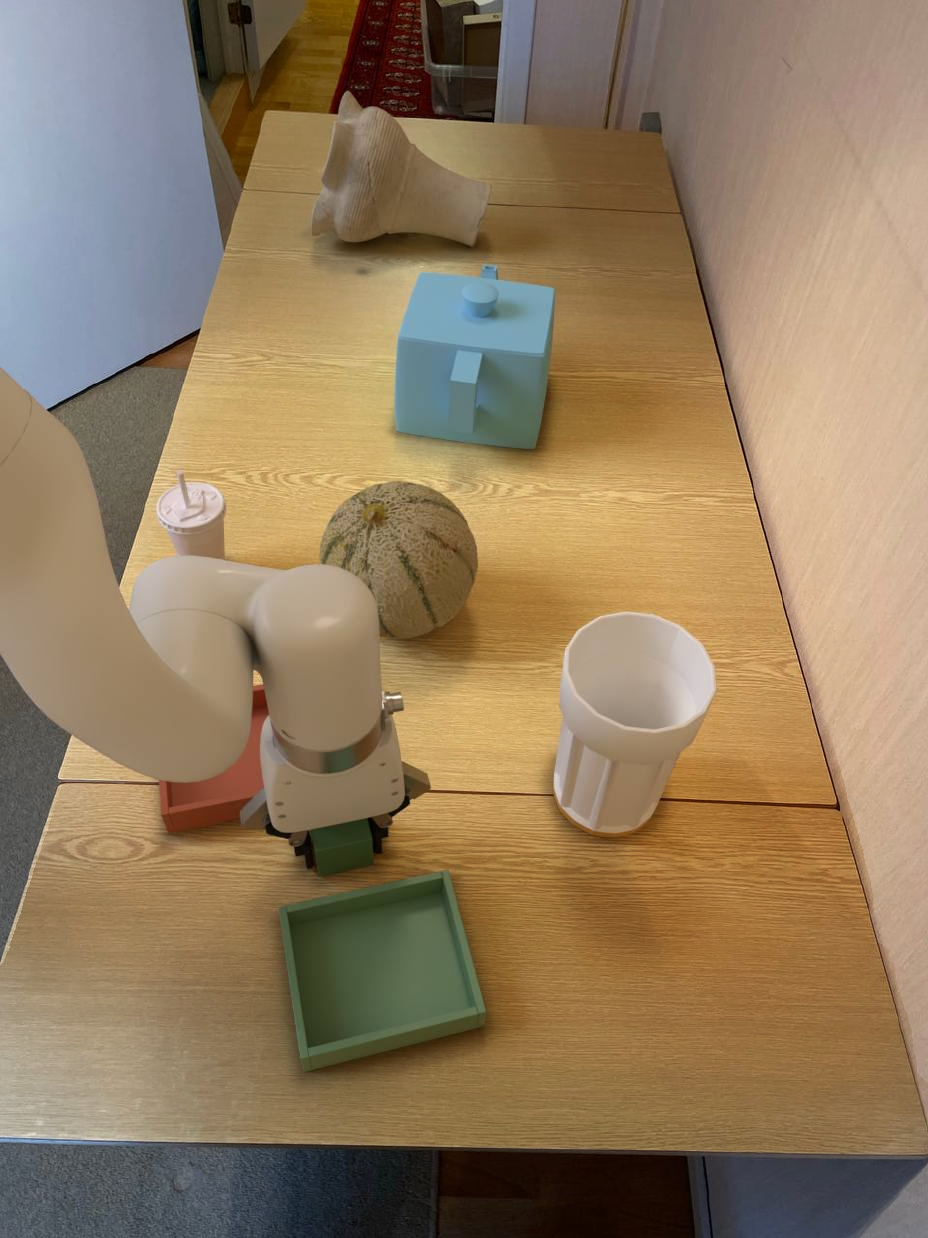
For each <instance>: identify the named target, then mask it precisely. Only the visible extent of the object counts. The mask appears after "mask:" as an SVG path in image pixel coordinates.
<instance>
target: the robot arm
mask: <svg viewBox="0 0 928 1238" xmlns="http://www.w3.org/2000/svg"><path fill="white" fill-rule="evenodd" d="M380 638H381V637H380V632H379V615H378V608H377V604H376V601H375V598H374V596H373V594H372V593H371V591H370V589H369V588H368V587H367V585H366V584H365V583H364V582H363V581H362V580H361V579H360V578H358V577H357V576H355V575H354V574H353V573H351V572H349V571H347V570H345V569H342V568H339V567H336V566H331V565H326V564H320V563H314V564H311V563H310V564H304V565H299V566H295V567H293V568H290V569H280V568H276V567H275V568H274V567H266V566H261V565H255V564H249V563H245V562H244V563H243V562H239V561H232V560H228V559H225V560H222V559H216V558H210V557H203V556H188V555H178V554H177V555H171V556H166V557H163V558H160V559H157V560H155V561H153V562H151V563H149V564H148V565H147V566H145V567H144V569H143V570H141V571H140V573H139V574H138V575H137V577H136V579H135V581H134V585H133V588H132V591H131V595H130V600H129V608H128V606H127V604H126V601H125V598H124V597H123V594H122V592H121V589H120V586H119V583H118V580H117V577H116V574H115V571H114V568H113V564H112V561H111V556H110V552H109V549H108V544H107V538H106V534H105V529H104V524H103V519H102V515H101V510H100V505H99V499H98V496H97V492H96V488H95V485H94V481H93V479H92V475H91V472H90V469H89V466H88V463H87V461H86V459H85V457H84V453H83V451H82V448H81V446H80V444H79V443H78V441H77V440H76V438H75V436H74V435H73V434H72V432H71V431H70V430H69V429H68V428H67V427H66V426H65V425H64V423H62V422H61V421H60V420H58V418H56V417H55V416H54V415H53V414H52V413H51V412H50V411H49V410H47V409H46V407H44V406H43V405H42V404H41V403H40V402H39V401H38V400H37V399H36V398H35V397H34V396H33V395H32V394H31V393H30V392H29V391H27V390H26V389H25V388H24V387H23V386H21V384H19V382H17V381H16V380H15V379H14V377H12V376H11V375H10V374H9V373H8V372H7V371H6V370H5V369H3V367H1V366H0V656H1V658H2V659H3V660H4V662H5V664H6V666H7V667H8V669H9V670H10V672H11V674H12V676H13V677H14V678H15V680H16V681H17V683H18V684H19V685H20V687H21V688H22V690H23V691H24V693H25V694H26V695H27V697H28V698H29V699H30V700H31V701H32V703H34V705H35V706H36V707H37V708H38V709H39V710H40V711H41V712H42V713H43V714H44V715H45V716H46V717H47V718H48V719H49V720H50V721H52V722H53V723H55V724H56V726H58V727H59V728H61V729H62V730H64V731H65V732H67V733H68V734H69V735H71V736H72V737H74V738H76V739H77V740H79V741H80V742H82V743H84V744H86V745H87V746H88V747H90V748H92V749H93V750H95V751H96V752H98V753H99V754H101V755H103V756H104V757H106V758H108V759H109V760H112V761H113V762H114V763H116V764H118V765H120V766H123V767H124V768H127V769H128V770H131V771H133V772H136V773H138V774H140V775H142V776H145V777H147V778H148V777H149V778H153V779H154V780H155V779H156V780H158V781H159V780H164V781H170V782H197V781H202V780H206V779H209V778H213V777H215V776H217V775H219V774H221V773H223V772H224V771H225V770H227V769H228V768H229V767H231V766H232V765H233V764H234V763H235V762H236V761H237V759H238V758H239V757H240V756H241V754H242V752H243V751H244V748H245V746H246V744H247V741H248V738H249V734H250V728H251V717H252V701H253V686H254V671H255V672H256V673H257V674H259V676H260V678H261V680H262V684H263V686H264V690H265V695H266V701H267V706H268V711H269V716H268V717H267V718H266V720H265V721H264V724H263V727H262V731H261V739H260V761H261V769H262V777H263V784H264V787H263V788H262V789H261V790H260V791H259V792H258V793H257V794H256V795H255V796H254V797H253V798H252V799H251V800H250V801H249V802H248V803H247V804H246V805H245V806H244V807H243V808H242V809H241V810H240V811H239V815H240V819H239V820H240V821H239V823H240V828H241V829H243V830H252V831H258V832H262V831H265V832H266V835H269V836H273V837H277V838H281V839H285V840H288V841H287V842H288V845H289V846H290V847H293V851H294V855H295V858H297V857H302V856H304V862H305V867H306V870H311V869H314V867H316V860H315V854H314V848H313V842H312V836H311V829H316V828H321V827H326V826H331V825H336V824H341V823H345V822H350V821H355V820H359V819H364V818H368V822H369V826H370V831H371V835H372V843H373V854H375V855H377V856H378V855H381V854H383V839H386V838H387V839H388V838H389V836H390V834H389V828H390V826H392V825H393V824H394V821H393V817H395V816H397V814H399V813H400V812H402V811H403V810H405V809H406V808H407V807H409V806H410V805H411V800H417V799H418V798H419V797H421V796H422V795H424V794H426V793H427V792H429V791H430V790H431V789H432V785H431V782H430V778H429V775H428V772H426V771H423V770H421V769H419V768H417V767H415V766H413V765H411V764H409V763H407V762H405V761H403V760H402V754H401V748H400V743H399V736H398V733H397V729H396V728H397V727H396V723H395V720H394V716H393V715H394V714H395V713H399V712H402V711H404V710H405V707H404V705H405V704H404V700H403V694H402V692H401V691H397V692H392V693H391V692H390V691H386V692H385V689H383V687H382V667H381V666H382V665H381V641H380V640H381V639H380Z"/></svg>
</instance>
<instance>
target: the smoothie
mask: <svg viewBox="0 0 928 1238" xmlns="http://www.w3.org/2000/svg"><path fill="white" fill-rule="evenodd" d="M176 475H177V476H176V477H177V479H178V484H176V485H174V486H172V487H170V488H168V489H167V490H166V491H164V492H163V493H162V494H161V495H160V497H159V498H158V500H157V502H156V506H155V508H156V513H157V520H158V522H159V524H160V525H161V526H162V527H163V528H164V529H165V530H166V532H167V535H168V537H169V538H170V541H171V543H172V545H173V548H174V550H175V552H176V554H177V556H178V555H188V556H203V557H210V558H216V559H222V560H226V551H225V550H226V549H225V547H226V546H225V519H224V518H225V516H226V514H227V503H226V500H225V496H224V495H223V493H222V491H221V490H220V489H219V488H217V487H216V486H214V485H213V484H210V483H207V482H199V481H189V482H186V478H185V475H184V471H183V470H182V469H179V470H177V471H176Z"/></svg>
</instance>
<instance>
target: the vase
mask: <svg viewBox="0 0 928 1238" xmlns="http://www.w3.org/2000/svg"><path fill="white" fill-rule="evenodd" d="M399 123H400V122H398V121H397V120H396V118H394V116H393V115H391V114H390V113H388V112H387V111H386V110H385V109H383V108H380V107H378V106H373V105H372V106H367V107H361V104H359V102H358V100H357V99H356V97H354V95H353V93H352V92H351V91H350V90H346V91H345V92H344V94H343V95H342V97H341V100H340V103H339V107H338V114H337V120H334V121H333V127H332V134H331V140H330V145H329V150H328V152H327V153H328V154H327V156H326V157H327V158H326V161H325V164H324V166H323V170H322V172H321V176H320V181H321V182H322V185H323V186H322V190H321V192H320V193H319V195H318V197H317V199H316V201H315V202H314V205H313V207H312V211H311V218H310V234H311V237H316V236H321V235H323V234H325V233H327V232H330V231H332V232H333V234H334V235H335V236H336V237H337V238H338V239H340V240H341V241H344V242H348V243H362V242H366V241H370V240H372V239H376V238H378V237H381V236H382V235H385V234H389V235H392V234H399V233H415V234H416V233H417V234H426V235H431V236H436V237H441V238H444V239H447V240H452V241H455V242H457V243H461V244H464V245H466V246H469V247H470V248H473V247H474V246H475V244H476V241H477V239H478V236H479V233H480V230H481V228H482V224H483V222H484V218H485V215H486V212H487V209H488V205H489V201H490V197H491V193H492V184H491V183H488V182H487V183H486V182H483V181H482V182H481V181H478V180H475V179H472V178H469V177H467V176H464V175H462V174H459V173H457V172H455V171H452V170H450V169H448V168H446V167H444V166H442V165H441V164H440V163H438V162H436V161H434V160H433V159H432V158H430V157H429V156H428V155H426V154H425V153H423V151H421V149H419V148H418V147H417V145H416V144H415V143H412V142H411V141H410V139H409V138H408V135H407V134H406V132H405V131H404V128H402V126H401V125H400V124H399Z"/></svg>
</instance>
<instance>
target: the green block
mask: <svg viewBox="0 0 928 1238" xmlns="http://www.w3.org/2000/svg"><path fill="white" fill-rule="evenodd" d="M310 837H311V842H312V848H313V854H314V859H315V865H316V869H317V875H318V877H319V878H320V877H326V876H329V875H334V874H339V873H344V872H348V871H353V870H357V869H363V868H366V867H371V866H374V864H375V861H374V860H375V859H374V853H373V843H372V835H371V831H370V826H369V822H368V818H364V819H359V820H355V821H350V822H345V823H341V824H336V825H331V826H326V827H321V828H316V829H311V830H310Z"/></svg>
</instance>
